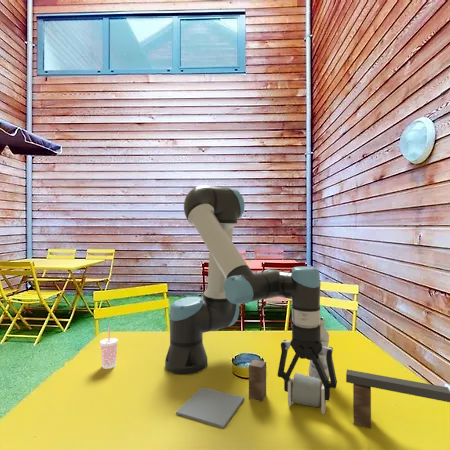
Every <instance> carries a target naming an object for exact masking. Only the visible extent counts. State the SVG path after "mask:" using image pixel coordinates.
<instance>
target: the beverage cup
mask: <svg viewBox="0 0 450 450" xmlns="http://www.w3.org/2000/svg"><path fill="white" fill-rule="evenodd" d="M107 329H108V331H107V332H108V333H107V335H108V336H107V337H108V338H107V337H106V338H103V339H101V340H100V341H99V345H100V353H101V366H102V369H104V370H105V369H106V370H107V369H113V368H115V367H116V365H117V353H118V343H119V339H118V338H116V337H111V336H110V334H111V332H110V330H111V328H110V326H108V327H107Z"/></svg>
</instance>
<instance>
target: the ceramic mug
mask: <svg viewBox="0 0 450 450" xmlns="http://www.w3.org/2000/svg"><path fill="white" fill-rule="evenodd" d="M292 378H293V386H292V404H297V405H302V406H303V405H304V406H309V407H314V408H322V403H321V388H322V385H323V383H322V381H321V380H320V379H318V378H315V377H310V376H309V375H305V374H302V373H298V372H295V373H294V374H293V377H292Z"/></svg>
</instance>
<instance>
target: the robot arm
mask: <svg viewBox="0 0 450 450" xmlns="http://www.w3.org/2000/svg"><path fill="white" fill-rule="evenodd" d="M183 211H184V215H185V218H186V220H187V221H188V223H189V224H190V225H191V226H193V227H195V230H196V231H197V232H198V234H199V236H200V237H201V239H202V241H203V243H204V245H205V246H206V248H207V250H208V252H209V253H208V271H207V274H208V276H207V289H205V290H204V291H203V295H202V298H201V297H199V296H187V297H182V298H180V299H177V300H175V301H173V302H172V304H170V310H169V316H168V317H169V347H168V349H167V354H166V356H165V360H164V367H165V370H166V371H168V372H169V373H172V374H175V375H184V376H185V375H193V374H196V373H200V372H201V371H204V370H205V369H206V368H207V366H208V355H207V352H206V349H205V346H204V343H203V342H204V341H203V334H204V333H207V332H212V331H216V330H221V329H226V328H228V327H232V326H233V325H235V323H236V322H237V321H238V319H239V315H240V305H241V304H243V305H244V304H249V303H250V302H251V303H252V302H256V301H261V300H262V301H263V300H267V299H274V298H278V297H279V298H284V299H288V300H291V320H292V321H291V322H292V325H291V340H286V339H284V340H282V341H281V342H280V348H281V349H280V350H281V352H280V358H279V363H278V364H279V365H278V369H277V374H276V375H277V377H278V378H282V379H283V384H284V385H283V387H284V388H283V389H284V391H285V392H287V406H289V407H292V404H293V402H292V386H293V378H294V377H291V376H292V372H293V371H294V369H295V367H296V364H297V363H298V360H299V359H302V360H304V359H306V360H309V361H310V360H312V362H313V364H314V365H315V367H316V369H317V372H318V374H319V376H320V379H321V381H322V383H323V385H322V388H321V403H322V406H321V414H322V415H325V414H326V409H327V405H326V403H327V402H329V401H330V398H331V389H336V388H337V383H338V380H337V375H336V370H335V365H334V360H333V351H334V349H333V347H332V346H328V347H325V346H322V344H321V336H320V326H319V324H320V317H321V303H320V301H321V277H320V276H321V275H320V270H319V269H318V268H316V267H314V266H306V265H305V266H303V265H302V266H294V267H292V269H291V272H290V271H285V270H279V269H265V270H263V271H262V272H253V271H252V270H251V268H250V267H249V265H248V264H247V262H246V260H245V259H244V257H243V256H242V254H241V253H240V251H239V250H238V248H237V247H236V245H235V243H234V242H233V234H234V232H233V231H234V227H236V226H237V224H238V219H239V218H242V216H243V214H244V212H245V201H244V198H243V195H242V194H241V192H240V191H239V190H237V189H235V188H232V187H223V186H211V185H198V186H196V187H194V188H192V189H191V190H190V191H189V192H188V193H187V194H186V196H185V198H184V202H183ZM290 347H291V348H292V350H293V351H294V356H293V357H292V360H291V361H290V364H289V366H288V367H287V368H288V369H287V370H286V371H285V368H286V367H285V366H286V363H287V357H288V352H289V351H288V350H290ZM321 351H323V352H324V355H325V356H326V361H327V366H328V371H329V376H330V377H329V379H328V377H327V375H326V373H325V370H324V368H323V366H322V364H321V361H320V358H319V355H318V354H319V353H320V352H321Z"/></svg>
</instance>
